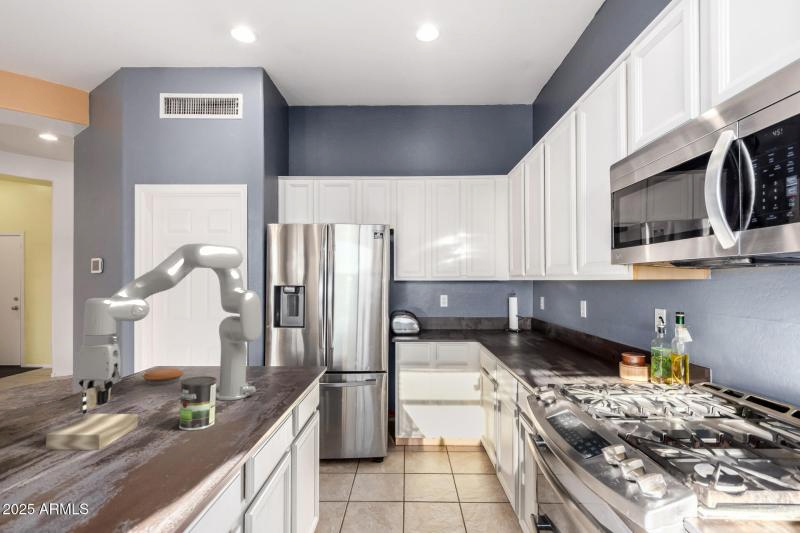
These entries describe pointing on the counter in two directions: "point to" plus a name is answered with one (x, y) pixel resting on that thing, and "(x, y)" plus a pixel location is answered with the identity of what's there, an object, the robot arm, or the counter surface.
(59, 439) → the birch block
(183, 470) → the counter surface
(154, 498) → the counter surface
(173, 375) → the pie
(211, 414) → the coffee can
